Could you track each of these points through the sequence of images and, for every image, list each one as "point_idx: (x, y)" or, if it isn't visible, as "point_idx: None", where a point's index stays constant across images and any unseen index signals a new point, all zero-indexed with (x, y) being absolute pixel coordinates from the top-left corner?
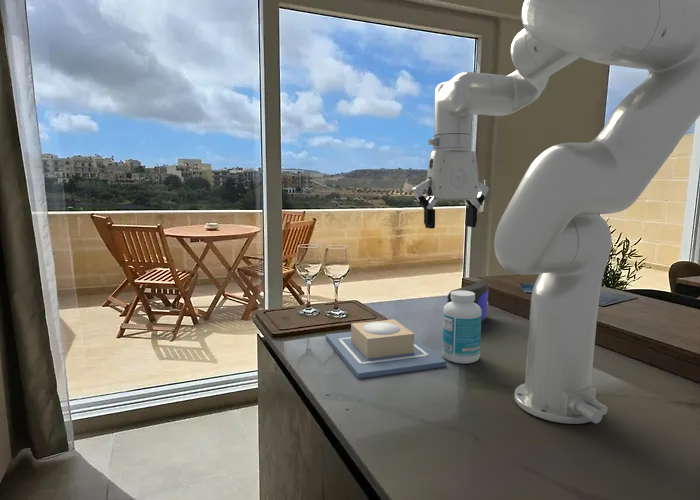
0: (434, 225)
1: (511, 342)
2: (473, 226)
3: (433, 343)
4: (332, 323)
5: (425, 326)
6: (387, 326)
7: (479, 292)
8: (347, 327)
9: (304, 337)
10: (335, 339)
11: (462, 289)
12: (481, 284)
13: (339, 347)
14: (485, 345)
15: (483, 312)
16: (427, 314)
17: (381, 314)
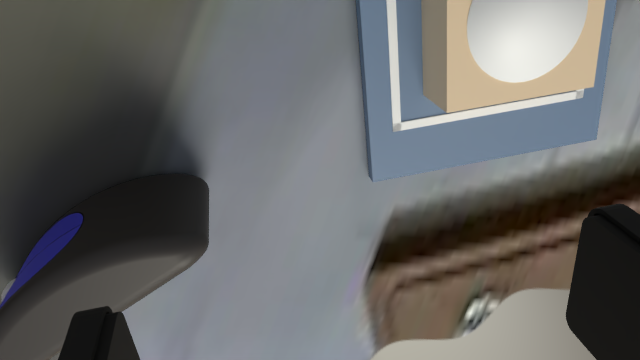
0: (610, 223)
1: (6, 16)
2: (108, 309)
3: (303, 52)
4: (525, 251)
5: (272, 208)
6: (502, 33)
7: (51, 268)
8: (499, 218)
9: (631, 152)
10: (588, 95)
11: (134, 273)
12: (12, 347)
13: (605, 26)
14: (124, 2)
15: (45, 239)
16: (226, 314)
17: (367, 317)
